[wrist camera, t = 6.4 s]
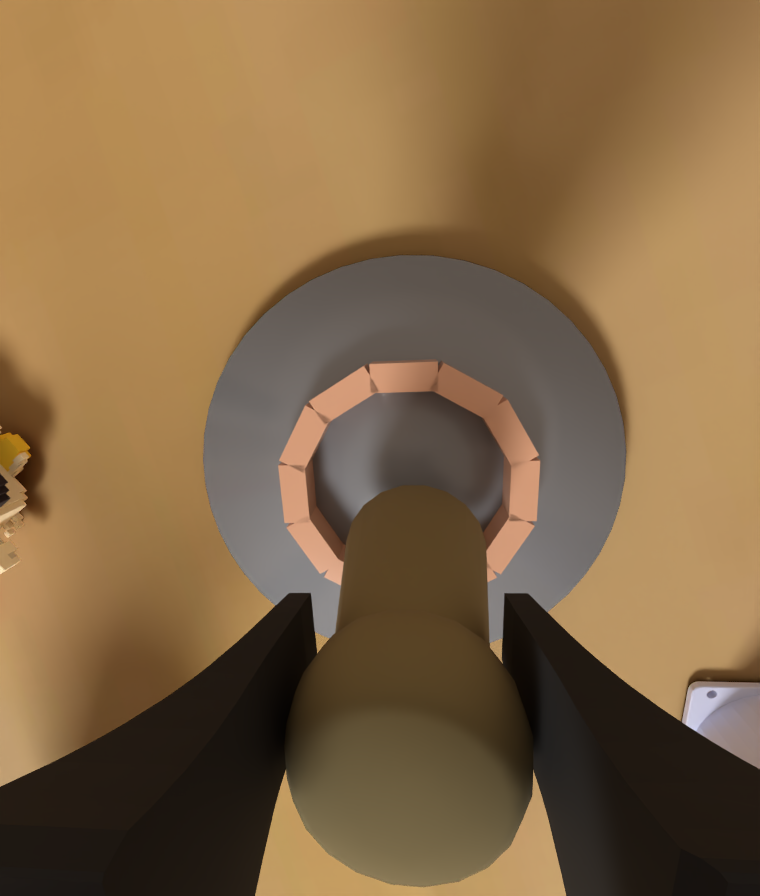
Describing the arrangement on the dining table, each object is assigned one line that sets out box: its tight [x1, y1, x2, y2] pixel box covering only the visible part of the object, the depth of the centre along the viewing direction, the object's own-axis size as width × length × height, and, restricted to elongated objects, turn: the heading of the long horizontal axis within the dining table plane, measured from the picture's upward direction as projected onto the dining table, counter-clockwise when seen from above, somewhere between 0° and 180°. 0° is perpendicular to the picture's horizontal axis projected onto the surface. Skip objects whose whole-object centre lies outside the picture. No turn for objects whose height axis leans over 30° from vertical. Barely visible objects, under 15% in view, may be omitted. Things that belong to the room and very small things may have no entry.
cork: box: [284, 485, 533, 887], centre depth 13 cm, size 6×6×11 cm
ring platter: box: [203, 255, 626, 643], centre depth 20 cm, size 20×20×2 cm
